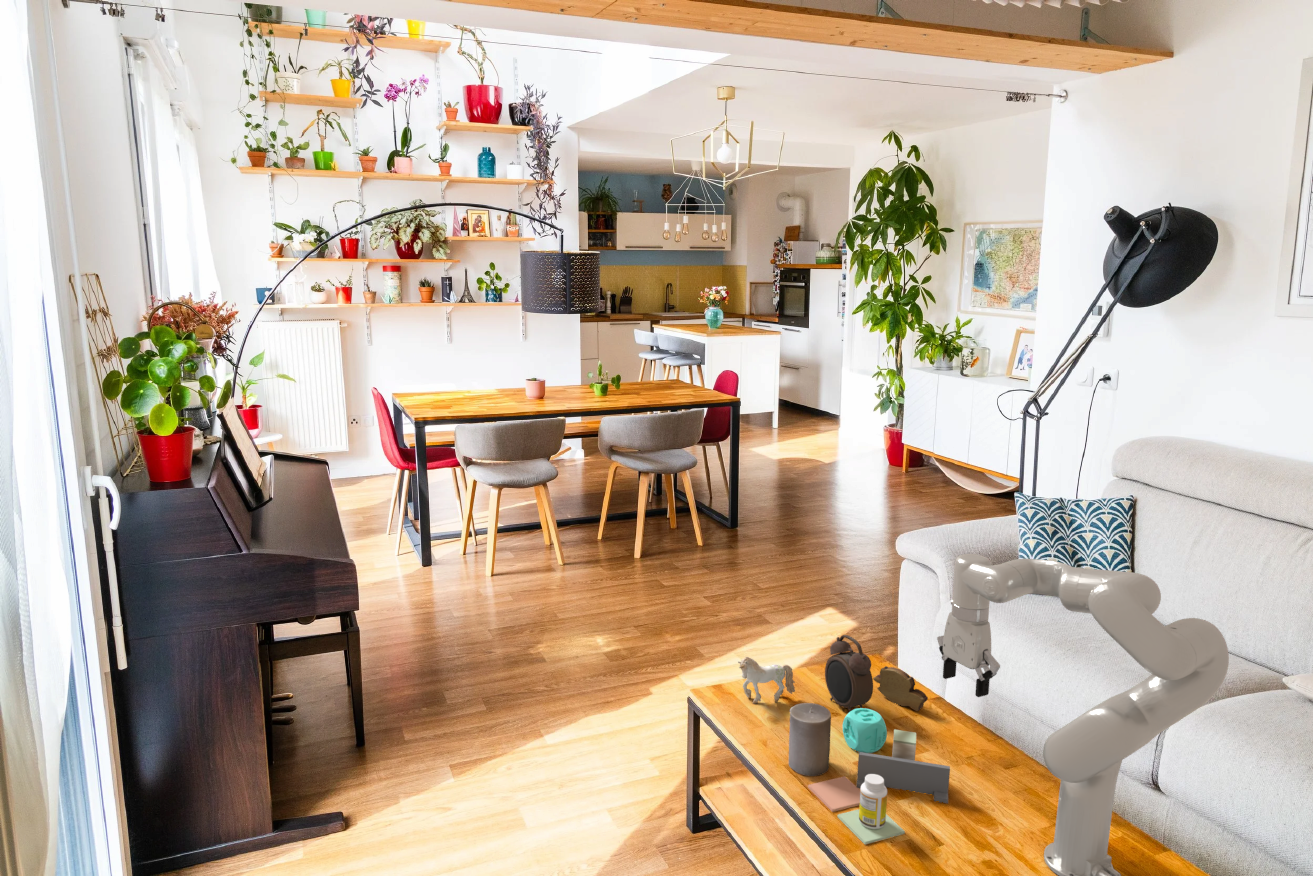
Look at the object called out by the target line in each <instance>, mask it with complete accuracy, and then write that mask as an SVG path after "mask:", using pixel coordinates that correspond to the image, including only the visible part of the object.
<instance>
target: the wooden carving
mask: <svg viewBox="0 0 1313 876" xmlns="http://www.w3.org/2000/svg"><path fill="white" fill-rule="evenodd" d="M872 679H873V682H875V683H877V684H879V686H878V687H877V690H878V691H879V692H880V693H881V695H882V696H884V697H885V698H886V700H888V701H890V703H893V704H895V703H896V704H895V705H897V704H898V705H897V706H900V705H901V707H910V709H912V710H914V711H916V712H919V711H920V710H921V709H922V708H924V704H925V703H926V702H927V701H928V699H929V698H928V696H927V695H926V693H925V692H924V691H922V690H920V689H919V688H918V689H917V688H915V686H916V680H915V679H914V677H913V676H910V675H909V674H908V673H907V672H906V671H904V670H903V669H900V668H898V667H893V666H890V667H888V666H884V667H881V668H880V671H879V673H878V674H877V675H875V676H874V677H872Z"/></svg>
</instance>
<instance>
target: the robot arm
mask: <svg viewBox="0 0 1313 876" xmlns="http://www.w3.org/2000/svg"><path fill="white" fill-rule="evenodd" d="M953 571H954V573H953V586H952V587H953V589H952V599H951V601H950V605H951V611H950V612H949V613H948V616H947V618H946V621H945V622H946V623H945V628H944V631H943V632H944V633H943V635H939V636H937V637H936V640H937V644H938V646H939V647H938V649H939V652H940V653H941V660H942V661H943V668H942V678H943V679H945V680H947V679H952V678H955V677H956V675H957V674H956V673H957V663H958V664H960V665H962V666H964V667H965V668H968V669H970V670H975V672H976V674H977V677H978V678H976V680H975V692H974V693H975V697H977V698H981V697H986V696H988V695H989V693H990V692H989V691H990V681H991V679H993V677H995V676H996V675H997V673H998V672H999V670H1000V669H1001V664H1000V663H999V662H998V661H997V660H996V658H995V657H994V655H992V632H991V631H992V630H991V624H990V623H991V622H989V614H990V602H992V603H995V604H1005V603H1008V602H1010V601H1013V600H1016V599H1017V598H1021V597H1023V596H1026V595H1042V596H1051V597H1055V598H1059V600H1060V603H1061V605H1062V606H1063V607H1064V608H1065V609H1066V610H1068V611H1070V612H1074V613H1075V612H1076V613H1083V614H1091V616H1092V617H1093V619H1094V620H1095V622H1097V623H1098V625H1099V626H1100V627H1101V628H1102V629H1103V631H1105V632H1106V634H1107V635H1109V636H1110V638H1112V639H1113V640H1114V641H1115V642H1116V643H1117V644H1118V645H1119V646H1120V647H1121V648H1122V649H1124V651H1125V652H1126V653H1128V655H1129V656H1130V657H1131V658H1133V659H1134V661H1136V663H1138V665H1140V666H1141V667H1142V668H1143V669H1144V670H1146V671H1147V672H1148V673H1149V674H1150V675H1149V676H1148V677H1147V678H1145V679H1144V680H1142V681H1140V682H1139V683H1138V684H1135V685H1134V686H1133V687H1130V688H1129V689H1127V690H1125V691H1123V692H1121V693H1118V694H1116V695H1113V696H1111V697H1109V698H1107V699H1105V700H1104V701H1102V702H1100V703H1098V704H1097V705H1094V706H1093V707H1092V708H1090V709H1088V710H1086V711H1085V712H1084V713H1082V714H1081V715H1079V716H1077V717H1076V718H1074V719H1072V721H1070V722H1068V723H1067V724H1065V725H1064V726H1062V727H1060V728H1059V729H1057V730H1056V731H1054V732H1053V733H1051V734H1050V735H1049V736H1048V737H1047V738H1046V739H1045V742H1044V743H1043V749H1042V757H1043V761H1044V764H1045V766H1046V769H1048V771H1049V772H1050V773H1051V775H1053V777H1056V778H1058V779H1059V780H1060V785H1059V792H1058V800H1057V801H1058V802H1057V809H1056V820H1055V828H1054V837H1053V842H1051V843H1049V844H1048V845H1047V846H1045V848H1044V851H1043V853H1044V854H1043V858H1044V862H1045V864H1046V866H1047V867H1048V868H1049V869H1050V870H1051V871H1052V872H1053V873H1054V874H1055V875H1057V876H1122V874H1121V873H1120V872H1118V870H1116V869H1114V867H1113V864H1112V856H1111V855H1109V854H1108V847H1109V840H1110V832H1111V824H1112V816H1113V807H1114V800H1115V794H1116V786H1117V782H1118V777H1119V773H1120V770H1121V766H1122V764H1123V760H1125V759H1126V758H1128V757H1129V756H1131V755H1132V754H1134V753H1136V752H1138V751H1139V750H1141V748H1144V747H1145V746H1147V744H1149V743H1150V742H1151V741H1153V739H1155V738H1156V737H1157V736H1158V735H1159V734H1161V733H1162V732H1163V731H1165V730H1167V729H1168V728H1171V726H1174V725H1176V723H1178V722H1179V721H1182V720H1183V719H1184V718H1186V717H1188V715H1190V714H1192V713H1194V712H1195V711H1197V710H1198V709H1201V707H1202V706H1204V705H1205V704H1206V703H1207V702H1208V701H1210V700H1211V699H1212V698H1213V696H1215V695H1216V693H1217V692H1218V691H1219V689H1220V687H1221V686H1222V684H1223V683H1224V680H1225V679H1226V676H1227V673H1228V669H1229V665H1230V664H1229V662H1230V659H1229V656H1230V655H1229V650H1228V649H1229V648H1228V646H1227V642H1226V639H1225V637H1224V635H1223V633H1222V632H1221V630H1219V628H1218V627H1217V626H1216V625H1215V624H1214V623H1212V622H1210V621H1208V620H1206V619H1202V618H1198V617H1197V618H1196V617H1187V618H1182V619H1178V620H1175V621H1172V622H1170V623H1169V624H1167V625H1164V624H1163V623H1161V622H1160V621H1159V620H1158V619H1157V618H1156V617H1155V616H1154V615H1153V614H1154V613H1155V612H1156V611H1157V610H1158V608H1159V606H1160V604H1161V600H1162V593H1161V590H1160V587H1159V586H1158V584H1157V583H1156V581H1155V580H1154V579H1152V578H1151V577H1149V576H1147V575H1145V574H1141V573H1139V572H1131V571H1121V570H1119V571H1118V570H1111V569H1110V570H1107V569H1095V568H1087V567H1085V568H1084V567H1076V566H1075V567H1074V566H1071V565H1069V564H1065V563H1063V562H1061V561H1060V562H1059V561H1055V560H1049V559H1035V558H1017V559H1016V558H1015V559H1012V560H1009V561H1006V562H1005V561H1004V562H1002V563H998V564H994V565H993V563H992V561H991V560H990V559H989V558H988V557H987V556H984V555H981V554H978V553H977V554H976V553H963V554H960V555H958V556H957V557H956V558H955V562H954V570H953ZM982 669H983V670H982ZM983 671H984V672H983Z"/></svg>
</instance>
